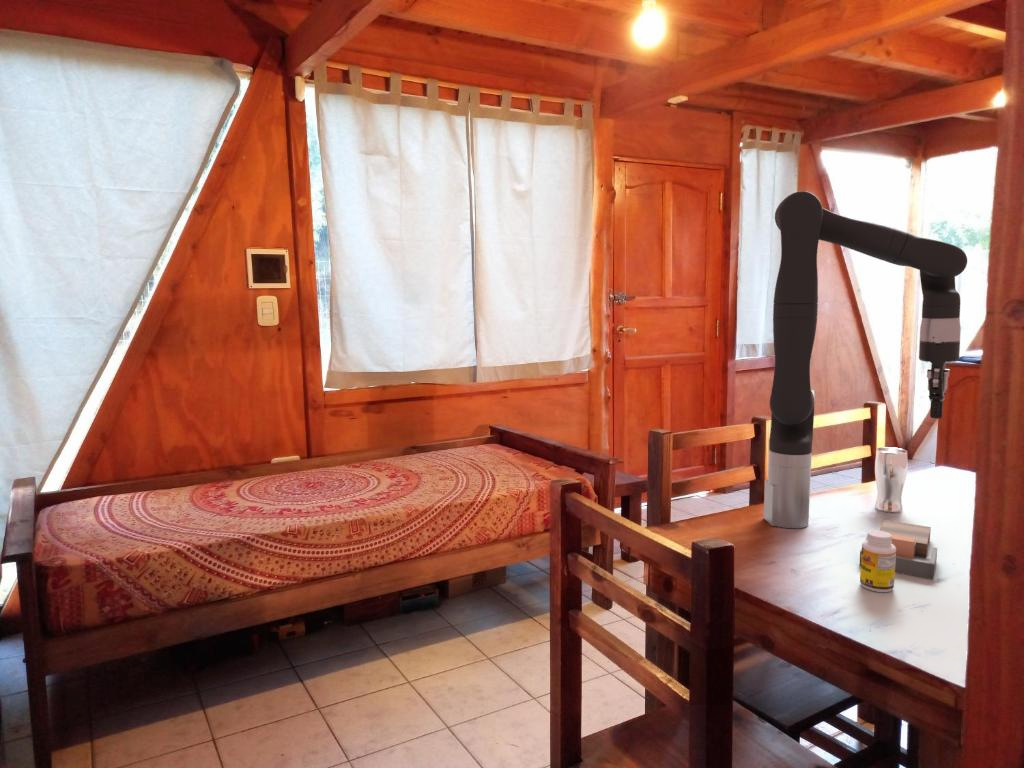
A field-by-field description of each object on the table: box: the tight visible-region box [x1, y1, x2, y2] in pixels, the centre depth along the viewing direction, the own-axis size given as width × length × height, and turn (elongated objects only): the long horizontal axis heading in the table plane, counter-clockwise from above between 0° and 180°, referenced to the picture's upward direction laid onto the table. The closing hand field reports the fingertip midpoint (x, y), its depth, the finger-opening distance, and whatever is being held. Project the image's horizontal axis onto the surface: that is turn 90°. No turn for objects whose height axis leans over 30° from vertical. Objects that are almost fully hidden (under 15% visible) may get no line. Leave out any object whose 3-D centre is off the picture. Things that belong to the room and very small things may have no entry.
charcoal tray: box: [859, 536, 938, 580], centre depth 139 cm, size 10×13×3 cm
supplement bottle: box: [859, 529, 896, 593], centre depth 128 cm, size 6×6×10 cm
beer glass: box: [874, 446, 908, 514], centre depth 172 cm, size 7×7×15 cm
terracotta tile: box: [892, 535, 915, 559], centre depth 138 cm, size 5×5×2 cm
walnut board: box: [879, 519, 931, 558], centre depth 149 cm, size 12×9×3 cm
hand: (936, 417), depth 154 cm, fingers closed
